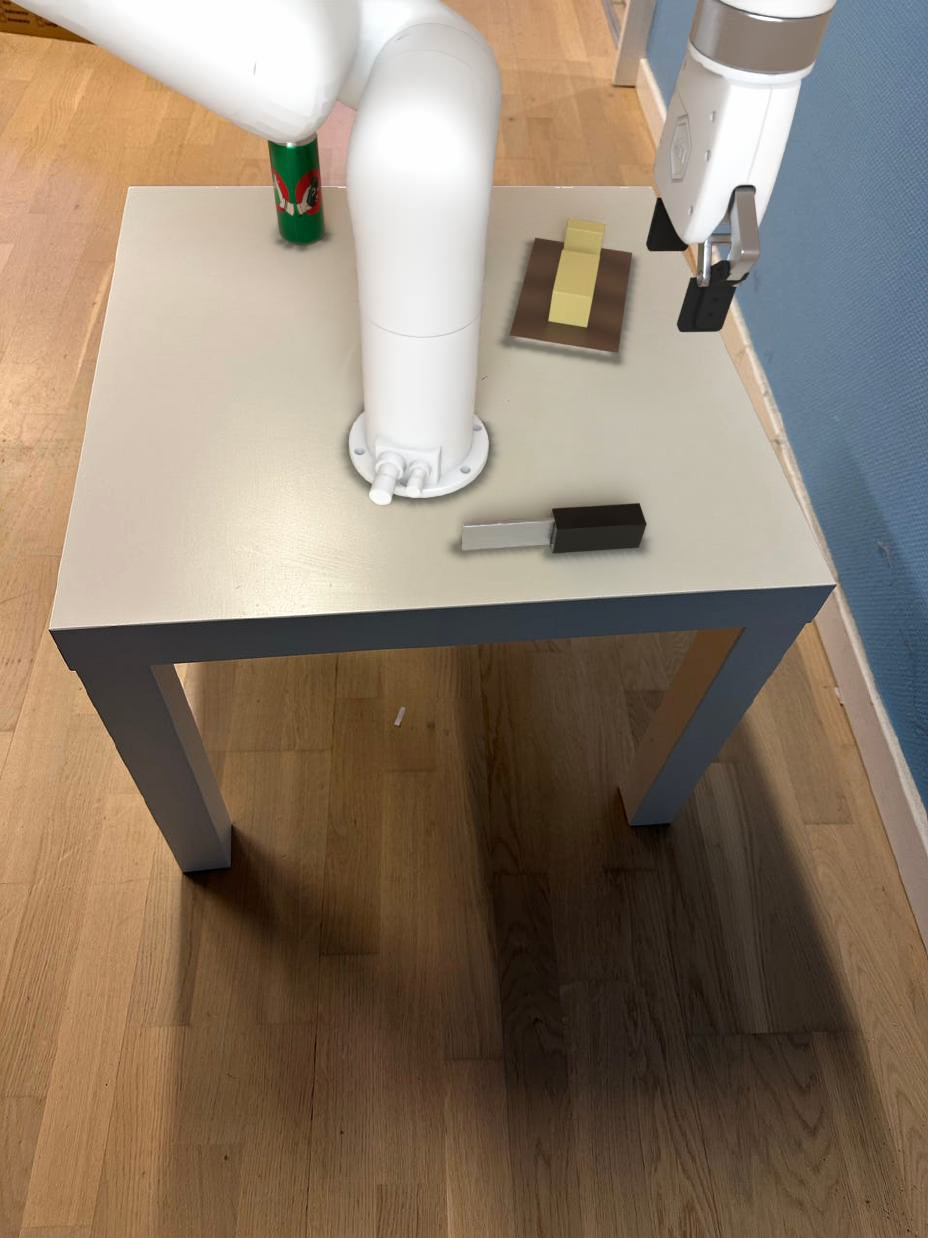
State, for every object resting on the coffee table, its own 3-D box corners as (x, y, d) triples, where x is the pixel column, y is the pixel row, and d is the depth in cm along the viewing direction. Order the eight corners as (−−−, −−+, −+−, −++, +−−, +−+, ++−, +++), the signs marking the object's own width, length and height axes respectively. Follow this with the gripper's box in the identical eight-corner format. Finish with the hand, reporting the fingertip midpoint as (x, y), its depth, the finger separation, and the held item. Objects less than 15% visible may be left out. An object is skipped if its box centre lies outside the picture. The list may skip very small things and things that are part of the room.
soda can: (329, 224, 101) (320, 114, 91) (320, 249, 98) (310, 139, 89) (285, 220, 101) (271, 109, 92) (275, 245, 98) (260, 133, 89)
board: (616, 361, 90) (618, 352, 89) (508, 343, 91) (509, 335, 90) (630, 260, 100) (632, 252, 99) (533, 245, 101) (534, 237, 100)
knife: (463, 559, 74) (465, 536, 71) (459, 537, 75) (461, 513, 73) (639, 547, 76) (646, 524, 73) (632, 526, 77) (639, 502, 74)
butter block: (586, 327, 91) (592, 297, 88) (548, 321, 91) (552, 291, 89) (594, 285, 95) (600, 255, 93) (557, 279, 96) (562, 249, 93)
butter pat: (598, 263, 98) (603, 233, 95) (562, 257, 98) (566, 227, 95) (599, 253, 99) (605, 223, 96) (564, 247, 99) (568, 217, 96)
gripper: (660, -34, 56) (608, 222, 70) (736, 98, 46) (658, 365, 60) (774, -31, 57) (700, 221, 71) (873, 100, 47) (765, 363, 61)
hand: (681, 287), depth 66 cm, fingers open, 9 cm apart
